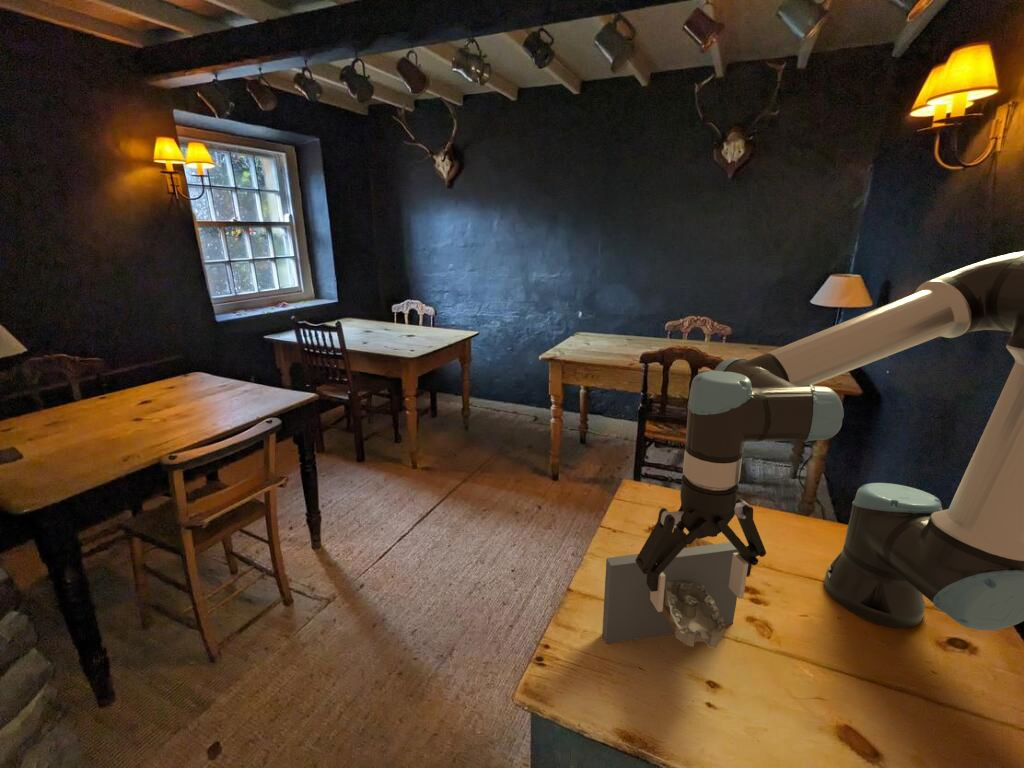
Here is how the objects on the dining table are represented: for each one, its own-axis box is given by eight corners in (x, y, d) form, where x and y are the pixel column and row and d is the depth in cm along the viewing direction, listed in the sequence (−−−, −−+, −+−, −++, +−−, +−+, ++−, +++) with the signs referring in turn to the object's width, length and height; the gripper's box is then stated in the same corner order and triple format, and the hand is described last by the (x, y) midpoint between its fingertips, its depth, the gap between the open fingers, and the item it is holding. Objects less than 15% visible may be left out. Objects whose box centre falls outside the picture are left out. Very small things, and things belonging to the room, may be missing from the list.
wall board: (726, 615, 85) (737, 541, 80) (763, 661, 75) (778, 580, 71) (602, 634, 81) (606, 557, 76) (624, 685, 72) (631, 602, 67)
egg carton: (725, 651, 68) (729, 630, 67) (673, 646, 69) (675, 624, 68) (707, 598, 78) (710, 578, 77) (661, 594, 79) (663, 574, 78)
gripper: (769, 458, 72) (752, 572, 78) (617, 475, 68) (612, 593, 74) (806, 481, 65) (784, 604, 71) (639, 501, 61) (631, 629, 67)
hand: (696, 599), depth 73 cm, fingers open, 13 cm apart
